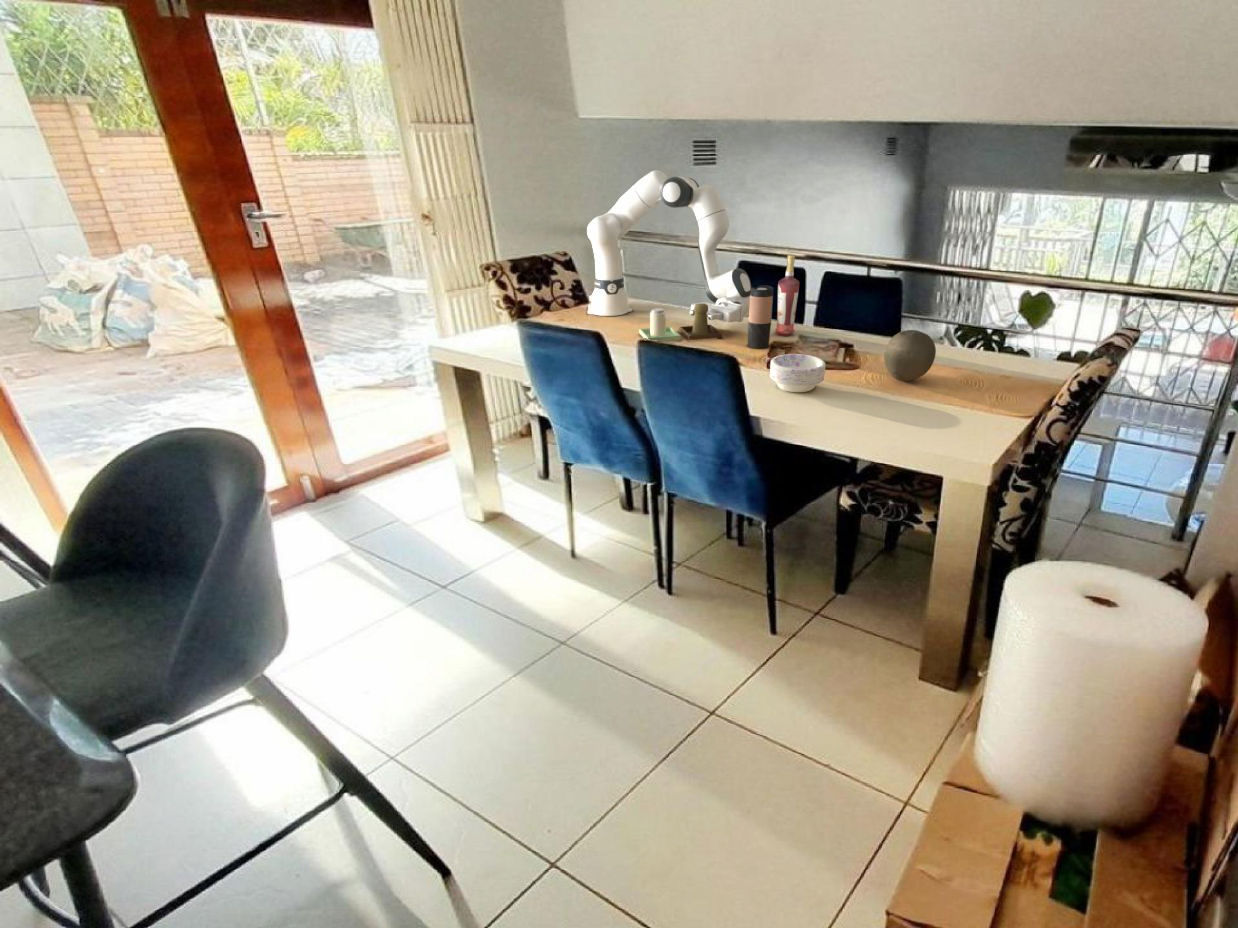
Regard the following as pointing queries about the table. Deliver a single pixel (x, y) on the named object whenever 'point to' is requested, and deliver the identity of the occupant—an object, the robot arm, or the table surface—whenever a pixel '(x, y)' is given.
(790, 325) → the liquor
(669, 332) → the pale tray
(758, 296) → the travel mug
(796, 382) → the paper bowls
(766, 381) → the table surface
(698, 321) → the olive pawn figurine
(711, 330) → the dark tray
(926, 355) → the cantaloupe
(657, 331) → the salt shaker
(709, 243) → the robot arm
